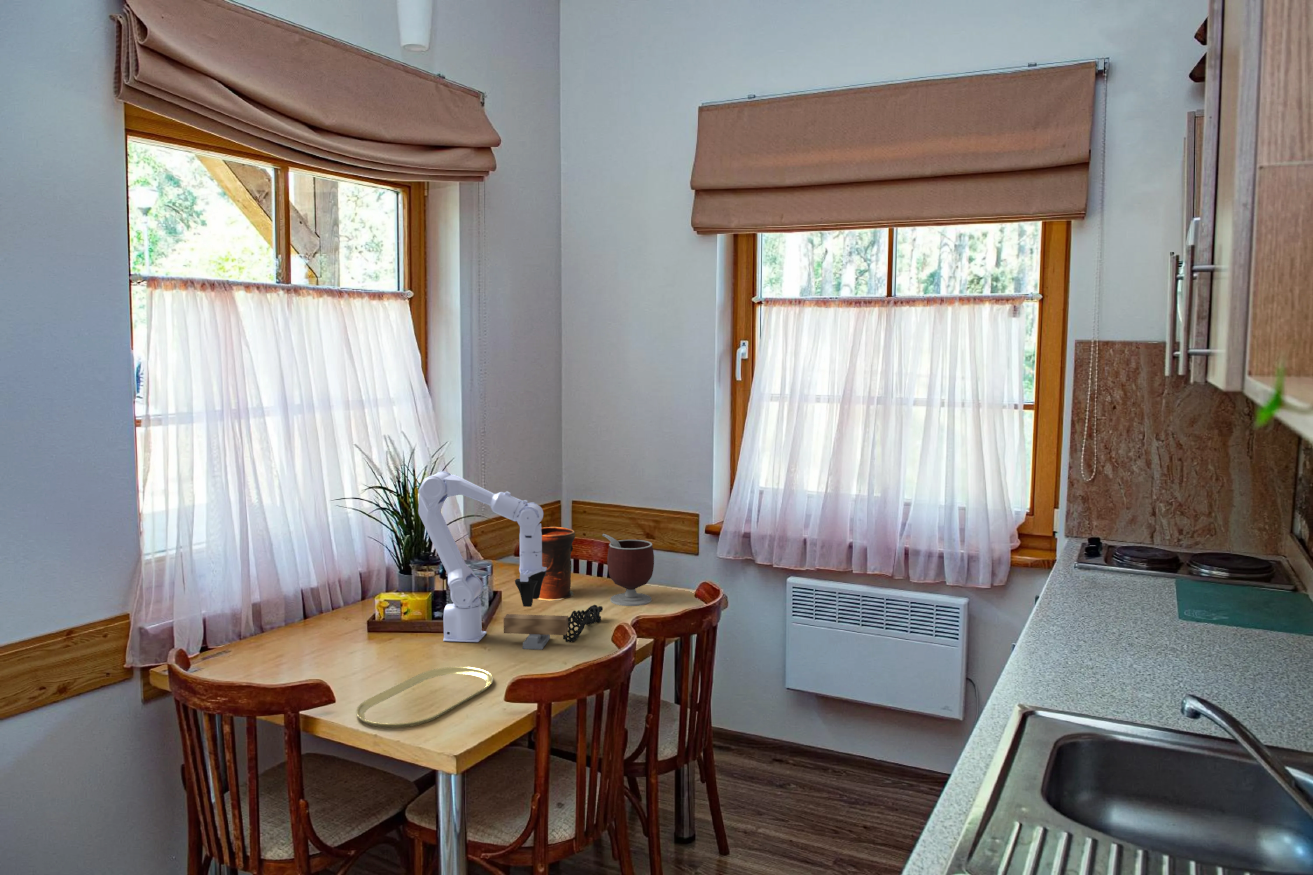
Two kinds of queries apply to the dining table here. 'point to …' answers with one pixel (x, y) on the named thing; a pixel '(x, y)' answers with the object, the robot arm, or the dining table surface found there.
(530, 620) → the beam
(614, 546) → the mate gourd
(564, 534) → the vessel
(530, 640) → the fulcrum
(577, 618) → the decorative element
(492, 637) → the dining table surface
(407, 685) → the serving platter
